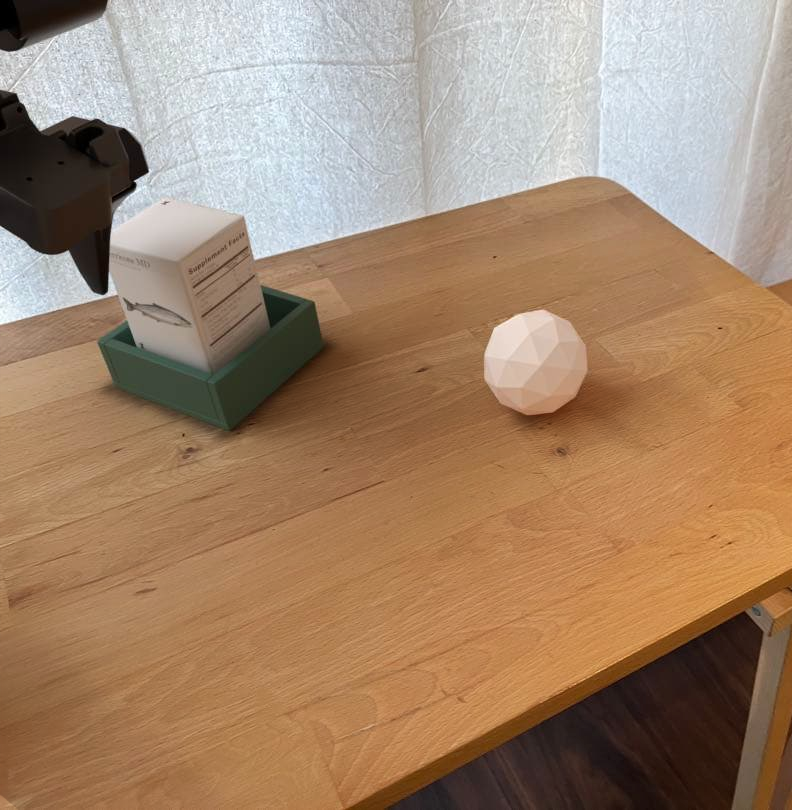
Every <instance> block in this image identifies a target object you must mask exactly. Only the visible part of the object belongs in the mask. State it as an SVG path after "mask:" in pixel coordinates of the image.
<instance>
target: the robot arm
mask: <svg viewBox="0 0 792 810" xmlns="http://www.w3.org/2000/svg"><path fill="white" fill-rule="evenodd" d="M108 2H109V0H0V51H3V52H6V53H7V52H8V53H13V52H19V51H21V50H23V49H26V48H28V47H32V46H33V45H36V44H40V43H42V42H44V41H46V40H50V39H52V38H54V37H57V36H60V35H63V34H64V33H68V32H70V31H73V30H76V29H78V28H80V27H82V26H83V27H84V26H86V25H89V24H91V23H93V22H96V21H98V19H100V18H102V17H103V16H104V14H105V12H106V11H107V7H108ZM149 173H150V166H149V163H148V160H147V157H146V154H145V151H144V147H143V144H142V142H141V141H140V140H139V139H138V138H137V137H136V136H135V134H133V133H132V132H131V131H130V130H128V129H127V128H125V127H122V126H117V125H113V124H109V123H107V122H105V121H103V120H102V119H101V118H93V119H88V118H82V117H78V116H75V115H71V116H70V117H67V118H65V119H63V120H61V121H59V122H57V123H56V122H55V124H52V125H50V126H48V127H45V128H44V129H42V130H40V129H39V127H37V126H36V124H35V122H33V121H32V119H31V117H30V115H29V112H28V110H27V108H26V105H25V104H24V103H23V102H21V101H20V98H19V96H18V93H17V92H12V91H9V90H8V91H7V90H5V89H4V90H3V89H0V227H1V228H2V229H4V230H6V231H7V232H9V233H10V234H12V235H13V236H15V237H17V238H19V239H20V240H21V241H23V242H25V243H26V245H27V246H28V247H29V248H30V249H32V250H34V251H36V252H37V253H39V254H42V255H47V256H57V255H61V254H64V253H66V252H69V255H70V257H71V258H72V260H73V262H74V264H75V267H76V268H77V269H78V270H77V271H78V272H79V274H80V275H81V277H82V279H83V280H84V281H85V283H86V285H87V286H88V287H89V290H90V291H91V292H93V294H96V295H99V296H105V295H106V294H108V292H109V283H110V281H109V280H110V272H109V259H110V237H111V231H112V228H113V220H114V215H115V213H116V211H117V210H118V208H119V207H120V206H121V205H122V204H123V202H124V201H125V200H126V199H127V198H128V197H129V196H131V195H132V194H133V193H135V191H136V190H137V187H138V183H137V182H136V181H137V180H138V179H141V178H142V177H144V176H145V175H148V174H149Z"/></svg>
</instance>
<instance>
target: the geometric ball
mask: <svg viewBox="0 0 792 810" xmlns="http://www.w3.org/2000/svg"><path fill="white" fill-rule="evenodd" d="M586 347H587V346H586V344H585V343H584V341H583V339H582V338H581V336H580V334H578V332H577V330H576V329H575V327H574V326H573V324H572V322H571V321H570V320H567V319H565V318H563V317H561V316H558V315H557V314H554V313H552V312H550V311H548V310H545V309H539V310H533V311H528V312H523V313H517V314H516V315H514V316H512V317H511V318H509V319H507V320H505V321H504V322H502V323H500V324H499V325H497V326H495V327H494V328H493V330H492V333H491V336H490V338H489V341H488V342H487V346H486V349H485V351H484V354H483V371H484V373H483V374H484V375H483V376H484V381H485V383H486V384H487V386H488V387H489V389H490V391H492V393H493V394H494V396H495V397H496V399H497V400H498V402H499V403H500V405H503V406H505V407H507V408H510V409H512V410H514V411H516V412H518V413H521V414H522V415H526V416H535V415H543V414H550V413H554V412H556V411H557V410H558V409H561V408H562V407H563V406H564V405H566V404H567V403H569V402H571V400H573V399H575V398H576V397H577V396H578V395H577V394H578V393H579V390H580V388H581V387H582V384H583V382H584V380H585V378H586V376H587V373H588V371H589V370H588V358H587V356H588V355H587V348H586Z"/></svg>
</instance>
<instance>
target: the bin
mask: <svg viewBox="0 0 792 810" xmlns="http://www.w3.org/2000/svg"><path fill="white" fill-rule="evenodd" d="M260 286H261V290H262V294H263V299H264V303H265V307H266V312H267V316H268V320H269V324H270V328H271V329H270V330H269V331H267V332H266V333H265V334H264V335H262V336H261V337H260V338H259V339H257V340H256V341H255V342H254V343H253V344H251V345H250V346H249V347H248V348H246V349H245V350H244V351H243V352H241V353H240V354H239V355H238V356H237V357H235V358H234V359H233V360H232V361H230V362H229V363H228V364H227V365H226V366H224V367H223V368H222V369H221V370H219V371H218V372H217V373H216V374H214V375H212V374H210V373H207V372H204V371H201V370H198V369H196V368H193V367H190V366H187V365H184V364H182V363H179V362H176V361H173V360H170V359H168V358H165V357H162V356H159V355H156V354H154V353H151V352H148V351H145V350H142V349H140V348H137V346H136V343H135V340H134V338H133V335H132V332H131V330H130V327H129V324H128V321H127V320H125V321H124V322H122V323H121V324H120V325H118V326H116V327H115V328H114V329H112V330H111V331H109V332H108V333H106V334H105V335H103V336H102V337H100V338H99V339H98V340H97V341H96V343H97V345H98V348H99V350H100V353H101V355H102V357H103V360H104V362H105V363H104V364H105V365H106V367H107V369H108V370H107V371H108V372H109V374H110V377H111V379H112V382H113V384H114V387H115V388H116V389H118V390H120V391H124V392H126V393H129V394H131V395H134V396H136V397H139V398H142V399H145V400H147V401H150V402H152V403H155V404H158V405H161V406H163V407H165V408H167V409H171V410H174V411H176V412H178V413H181V414H184V415H187V416H189V417H192V418H194V419H197V420H200V421H202V422H204V423H207V424H210V425H213V426H215V427H218V428H220V429H222V430H223V429H224V430H226V431H228V432H230V431H232V430H233V429H234V428H235V427H236V426H237V425H238V424H240V422H242V420H244V419H245V418H247V416H249V415H250V414H251V413H252V412H253V411H254V410H255V409H256V408H257V407H259V405H261V404H262V403H263V402H264V401H265V400H266V399H267V398H269V396H271V395H272V394H273V393H274V392H275V391H276V390H277V389H279V388H280V387H281V386H282V385H283V384H285V382H286V381H288V380H289V379H290V378H291V377H292V376H293V375H294V374H295V373H296V372H297V371H299V370H300V369H301V368H302V367H303V366H304V365H305V364H307V363H308V362H309V361H310V360H311V359H313V357H314V356H316V355H317V354H318V353H319V352H320V351H321V350H322V349H323V348H324V347H325V345H324V341H323V336H322V332H321V326H320V322H319V316H318V312H317V306H316V303H315V301H314V300H311V299H307V298H306V297H302V296H298V295H295V294H291V293H288V292H285V291H283V290H278V289H275V288H273V287H268V286H266V285H263V284H260Z"/></svg>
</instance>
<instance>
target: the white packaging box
mask: <svg viewBox="0 0 792 810" xmlns="http://www.w3.org/2000/svg"><path fill="white" fill-rule="evenodd" d="M247 227H248V226H247V223H246V218H245V216H244V215H242V214H238V213H236V212H235V213H234V212H230V211H227V210H226V211H225V210H222V209H217V208H213V207H209V206H206V205H201V204H196V203H193V202H189V201H188V202H187V201H184V200H180V199H176V198H172V197H168V196H166V197H163V198H162V199H160V200H158V201H156V202H154V203H153V204H151V205H149V206H148V207H146V208H145V209H144V210H142V211H140V212H138V213H137V214H135V215H134V216H133V217H131V218H129V219H128V220H126V221H125V222H122V223H121V224H119V225H118V226H117V227H115V228H114V229H111V237H110V259H109V276H110V279H111V280H112V283H113V286H114V288H115V291H116V294H117V296H118V299H119V302H120V305H121V307H122V310H123V313H124V315H125V319H126V321H128V324H129V327H130V330H131V332H132V335H133V338H134V340H135V343H136V346H137V348H140V349H142V350H145V351H148V352H151V353H154V354H156V355H159V356H162V357H165V358H168V359H170V360H173V361H176V362H179V363H182V364H184V365H187V366H190V367H193V368H196V369H198V370H201V371H204V372H207V373H210V374H212V375H214V374H216V373H217V372H218V371H219V370H221V369H222V368H223V367H224V366H226V365H227V364H228V363H229V362H230V361H232V360H233V359H234V358H235V357H237V356H238V355H239V354H240V353H241V352H243V351H244V350H245V349H246V348H248V347H249V346H250V345H251V344H253V343H254V342H255V341H256V340H257V339H259V338H260V337H261V336H262V335H264V334H265V333H266V332H267V331H269V330H270V329H271V328H270V324H269V320H268V316H267V312H266V307H265V303H264V299H263V294H262V290H261V286H260V285H261V283H260V279H259V274H258V269H257V266H256V261H255V257H254V253H253V248H252V245H251V239H250V236H249V232H248V228H247Z"/></svg>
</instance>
